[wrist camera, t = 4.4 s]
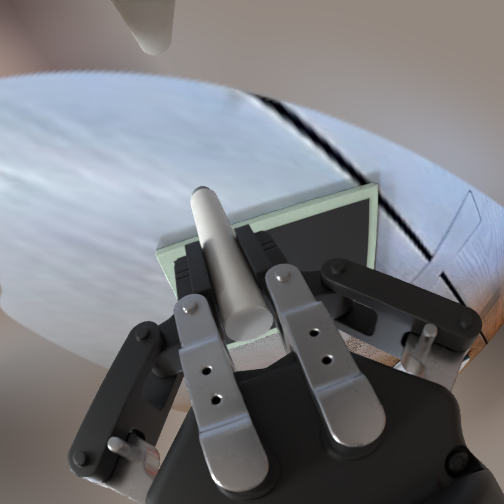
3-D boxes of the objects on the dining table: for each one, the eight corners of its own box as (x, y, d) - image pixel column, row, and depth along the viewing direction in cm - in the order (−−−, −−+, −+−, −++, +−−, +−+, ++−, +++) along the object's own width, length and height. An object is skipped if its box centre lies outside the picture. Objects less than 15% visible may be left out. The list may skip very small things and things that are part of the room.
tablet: (155, 250, 25) (155, 256, 25) (373, 182, 28) (378, 185, 27) (206, 350, 35) (208, 356, 34) (367, 289, 37) (371, 294, 37)
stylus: (185, 188, 19) (218, 317, 9) (211, 179, 19) (269, 299, 9) (193, 210, 20) (231, 348, 10) (217, 202, 20) (277, 331, 10)
